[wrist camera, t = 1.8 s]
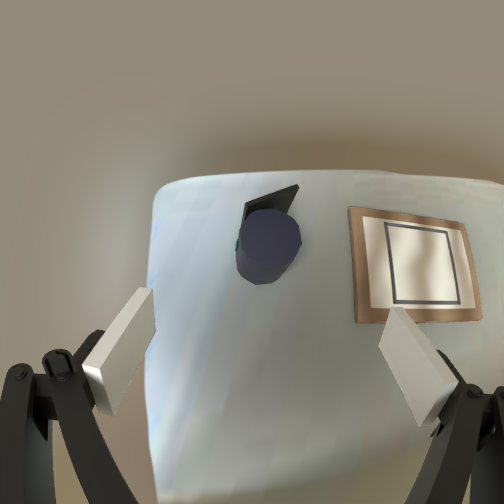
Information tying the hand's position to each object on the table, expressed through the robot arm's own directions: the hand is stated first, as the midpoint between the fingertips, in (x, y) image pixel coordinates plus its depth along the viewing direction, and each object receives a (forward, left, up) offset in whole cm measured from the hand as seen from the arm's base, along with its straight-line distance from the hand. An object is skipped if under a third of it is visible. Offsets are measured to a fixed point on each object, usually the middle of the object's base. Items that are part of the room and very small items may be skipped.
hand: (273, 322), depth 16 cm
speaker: (+7, -8, -17) cm, 20 cm away
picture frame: (-7, -23, -16) cm, 29 cm away
